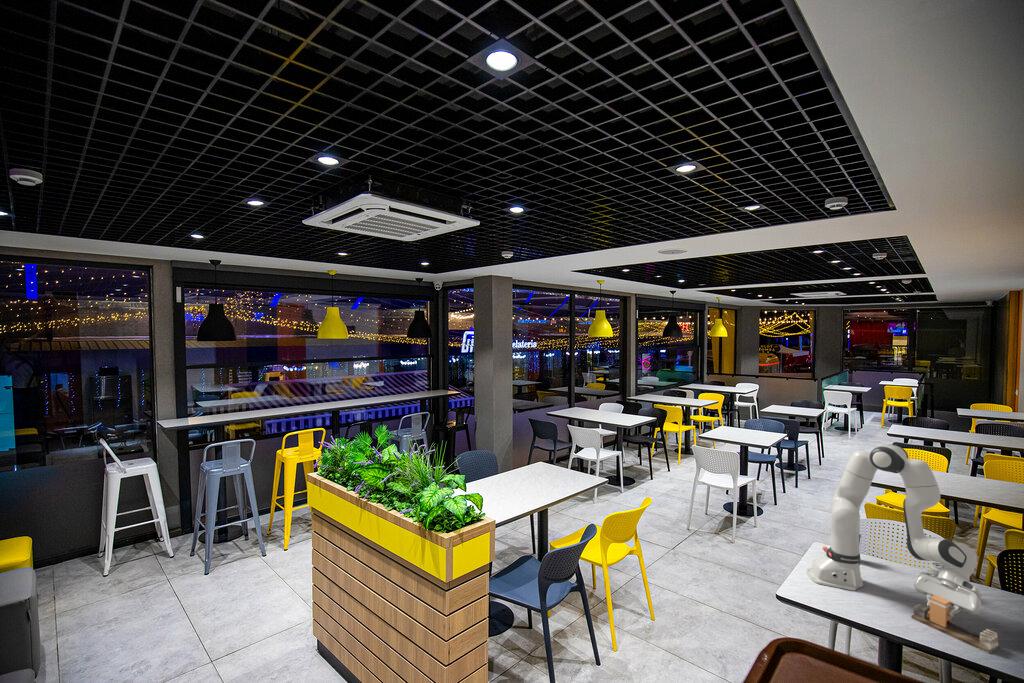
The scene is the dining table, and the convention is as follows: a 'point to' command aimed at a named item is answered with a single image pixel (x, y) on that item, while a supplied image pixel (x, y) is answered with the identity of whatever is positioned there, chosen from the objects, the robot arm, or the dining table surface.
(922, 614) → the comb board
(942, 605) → the orange box
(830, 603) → the dining table surface
